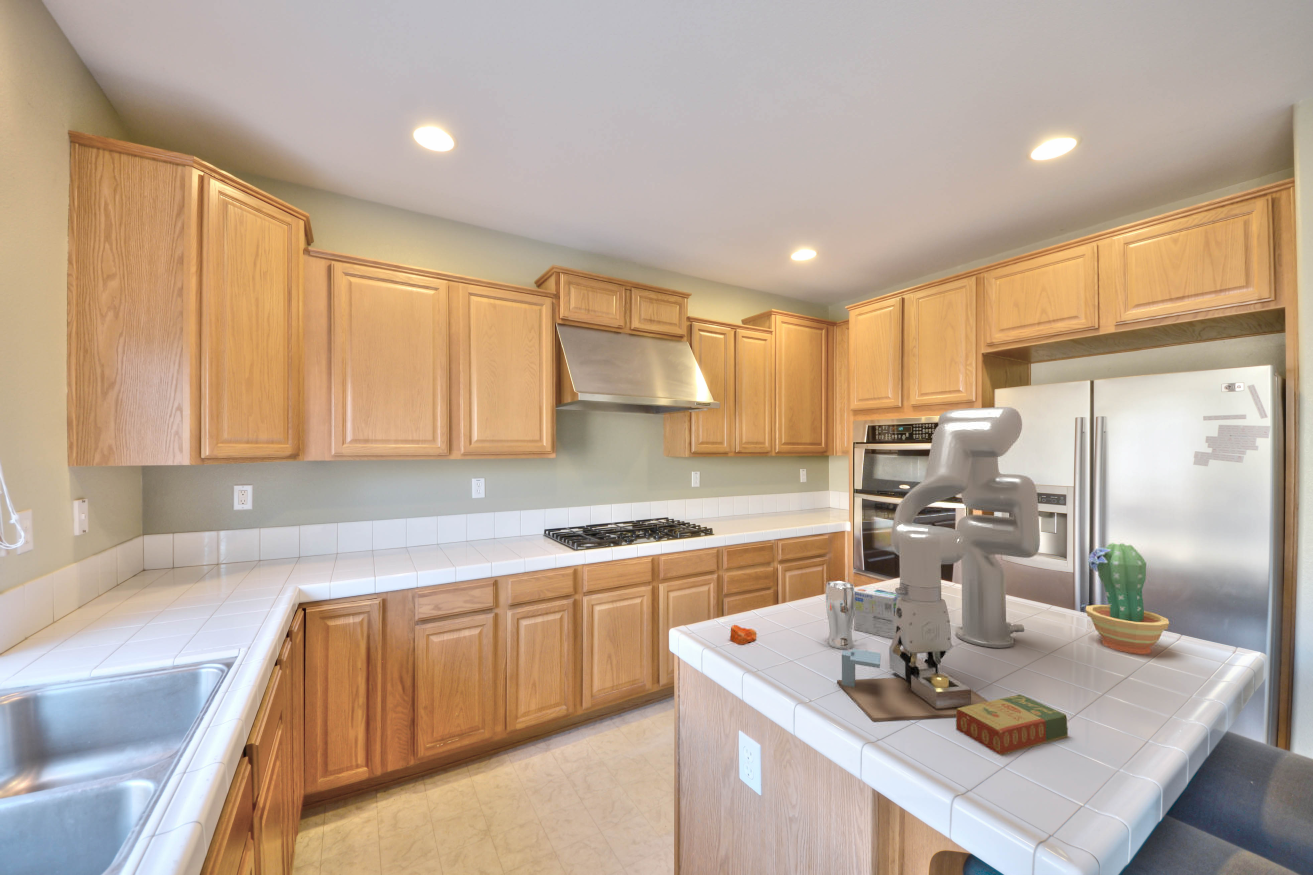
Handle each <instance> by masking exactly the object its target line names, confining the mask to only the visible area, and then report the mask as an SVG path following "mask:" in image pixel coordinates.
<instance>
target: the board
mask: <svg viewBox="0 0 1313 875" xmlns="http://www.w3.org/2000/svg"><path fill="white" fill-rule="evenodd" d="M948 675H949V676H950V677H952V678H954V679H955V680H957V681H959V680H958V679H957V678H955V677H953V676H952V675H950V674H948ZM959 682H960V683H962V682H961V681H959ZM836 684H837V686H839V687H840V688H841V689H842V690H843V691H844V692H845V694H847V695H848V696H849V697H850V699H851V700H852V701H853V702H854V703H855V704H856V705H857V706H858V707H859V708H860V709H861V710H862V711H863V712H864V713H865V715H867V717H869V718H870V720H871V721H873V722H874V723H875V722H889V721H908V720H909V721H910V720H925V719H926V720H929V719H946V718H956V711H957V710H956V709H957V708H961V707H965V706H960V707H949V708H939V709H936V708H935V707H934V706H932V705H931V704H929V703H928V702H927V701H925V700H924V699H923V698H921V697H920V696H918V695H917V694H916V693H914V692H913V691H912V690H911V684H910V683H909V682H908V681H907V680H906V679H904V678H903V677H901V676H900V677H883V678H882V677H880V678H879V677H878V678H861V679H859V678H858V679H856V678H855V687H849V686H844V685H842V679H838V680H837V679H836ZM962 684H963V685H965V684H964V683H962ZM988 701H989V700H988V699H986V698H985V697H983V696H981V695H980V694H979V693H977V692H976V691H974V690H973V689H971V705H974V704H979V703H983V702H988Z"/></svg>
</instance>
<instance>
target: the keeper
mask: <svg viewBox="0 0 1313 875" xmlns="http://www.w3.org/2000/svg"><path fill="white" fill-rule="evenodd" d="M841 652H842V653H841V680H842V685H844V686H849V687H855V680H856V666H857V665H858V666H863V667H869V668H876V669H880V668H881V659H882V658H881V654H882V653H881V652H876V651H871V650H863V649H857V648H851V650H850V651H848V650H842V651H841Z"/></svg>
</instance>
